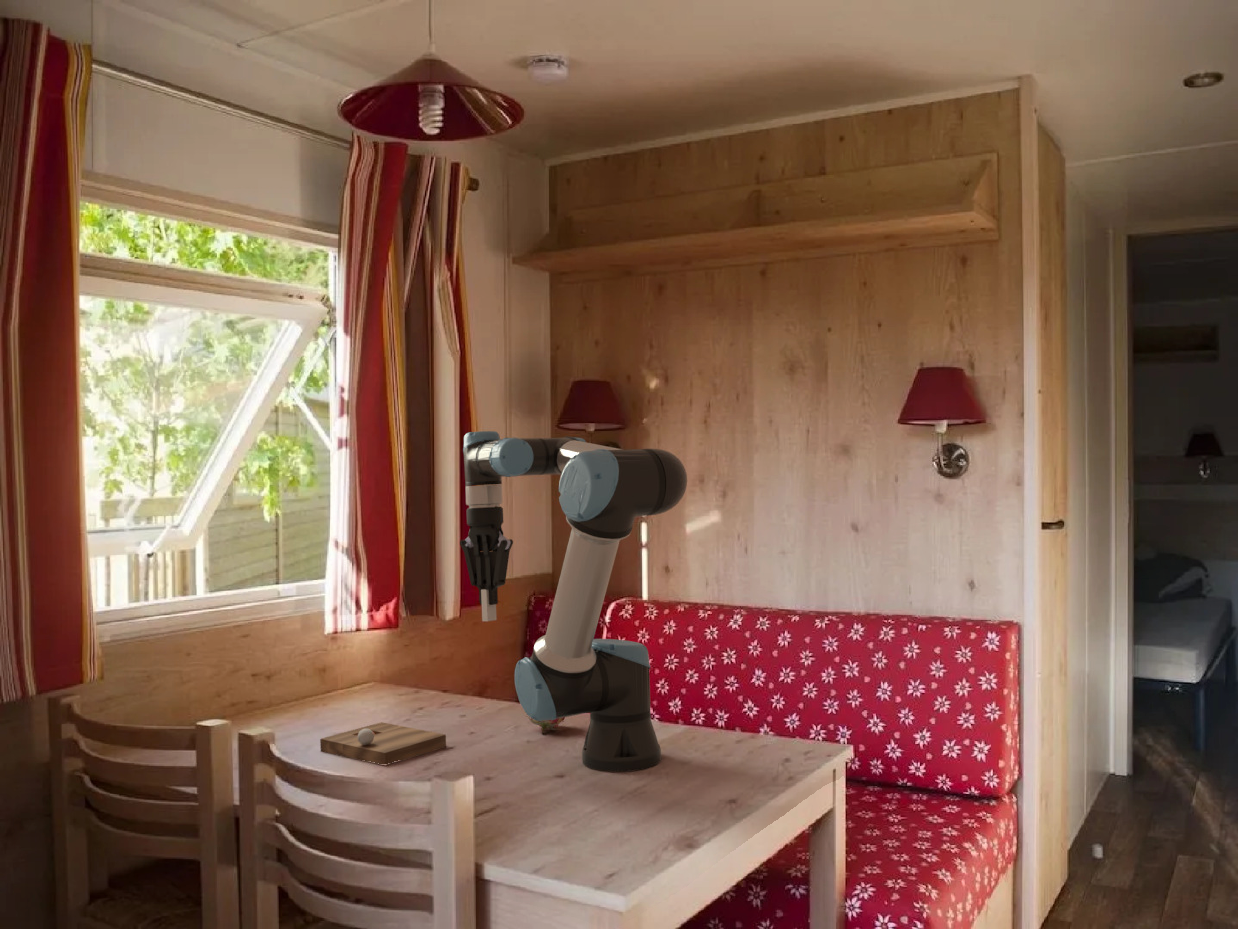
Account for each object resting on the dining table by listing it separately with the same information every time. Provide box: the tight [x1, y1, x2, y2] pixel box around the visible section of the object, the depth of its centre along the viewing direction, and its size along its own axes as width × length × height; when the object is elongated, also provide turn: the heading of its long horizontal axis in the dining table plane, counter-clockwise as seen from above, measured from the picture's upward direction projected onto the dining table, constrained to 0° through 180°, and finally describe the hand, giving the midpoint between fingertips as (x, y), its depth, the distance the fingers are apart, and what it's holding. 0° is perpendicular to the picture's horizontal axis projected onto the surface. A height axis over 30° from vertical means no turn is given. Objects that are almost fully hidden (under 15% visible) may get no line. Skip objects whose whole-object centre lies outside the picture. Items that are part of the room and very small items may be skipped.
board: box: [319, 721, 447, 765], centre depth 226 cm, size 20×16×2 cm
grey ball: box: [358, 729, 374, 745], centre depth 220 cm, size 3×3×3 cm
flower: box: [526, 715, 566, 735], centre depth 237 cm, size 10×9×8 cm
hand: (489, 620), depth 228 cm, fingers closed
